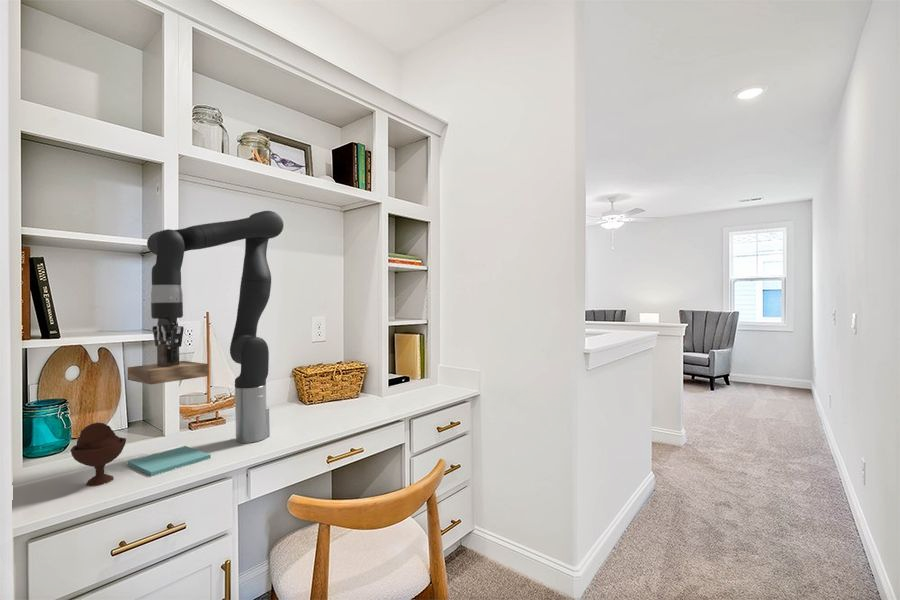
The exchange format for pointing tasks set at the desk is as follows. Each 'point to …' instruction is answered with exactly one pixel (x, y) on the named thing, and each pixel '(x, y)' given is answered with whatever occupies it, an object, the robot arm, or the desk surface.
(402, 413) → the desk surface
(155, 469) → the teal mat
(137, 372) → the walnut cover
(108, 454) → the ice cream bowl
